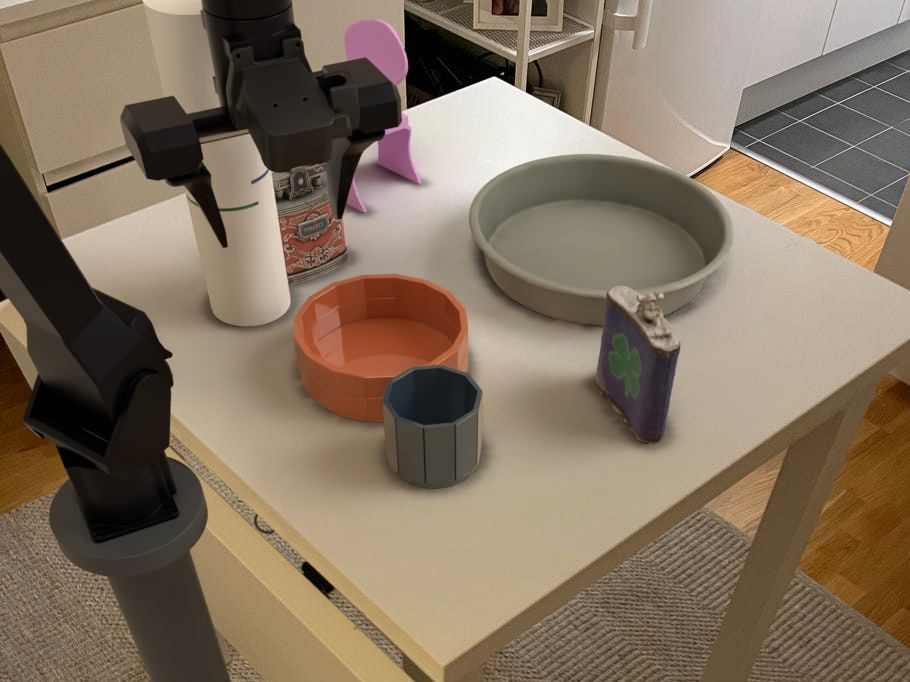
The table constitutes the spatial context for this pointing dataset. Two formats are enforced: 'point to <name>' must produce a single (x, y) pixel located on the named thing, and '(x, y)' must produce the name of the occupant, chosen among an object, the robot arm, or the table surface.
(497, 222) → the cake pan
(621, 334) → the flask
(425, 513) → the table surface
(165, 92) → the cylindrical container
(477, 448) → the small bowl
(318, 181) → the lighter
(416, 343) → the orange bowl
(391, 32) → the toy chair
